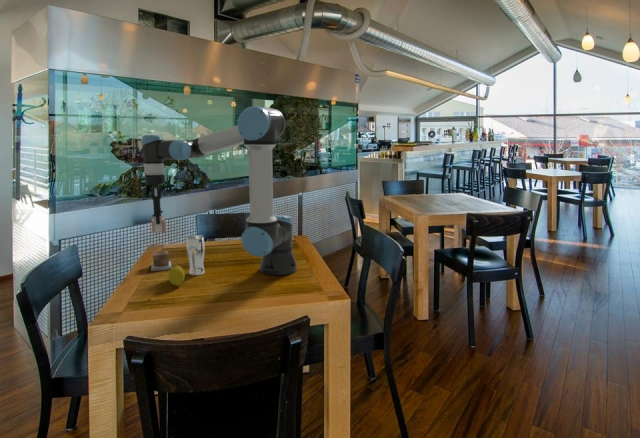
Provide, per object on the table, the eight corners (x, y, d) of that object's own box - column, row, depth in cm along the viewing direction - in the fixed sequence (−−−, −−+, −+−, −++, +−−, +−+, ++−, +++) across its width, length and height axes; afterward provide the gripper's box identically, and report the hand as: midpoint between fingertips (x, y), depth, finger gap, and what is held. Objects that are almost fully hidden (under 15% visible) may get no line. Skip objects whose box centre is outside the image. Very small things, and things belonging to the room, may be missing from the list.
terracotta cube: (152, 232, 172) (151, 220, 171) (152, 230, 177) (151, 218, 176) (165, 231, 174) (164, 220, 173) (165, 229, 179) (164, 217, 178)
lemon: (186, 283, 159) (185, 263, 158) (182, 288, 154) (181, 267, 152) (172, 283, 159) (170, 263, 158) (167, 288, 154) (165, 267, 152)
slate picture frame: (171, 269, 176) (171, 266, 176) (151, 271, 173) (150, 268, 173) (171, 263, 184) (171, 260, 184) (151, 264, 181) (151, 262, 181)
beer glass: (201, 276, 167) (199, 239, 164) (184, 275, 169) (182, 238, 166) (209, 270, 174) (207, 235, 171) (193, 269, 175) (191, 234, 172)
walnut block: (153, 267, 175) (152, 255, 174) (153, 263, 180) (152, 251, 179) (169, 265, 177) (168, 254, 176) (168, 261, 182) (167, 250, 181)
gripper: (164, 175, 164) (168, 234, 168) (164, 171, 180) (168, 225, 185) (143, 176, 161) (148, 235, 166) (145, 172, 178) (149, 226, 183)
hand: (158, 230), depth 175 cm, fingers closed on terracotta cube, 5 cm apart
